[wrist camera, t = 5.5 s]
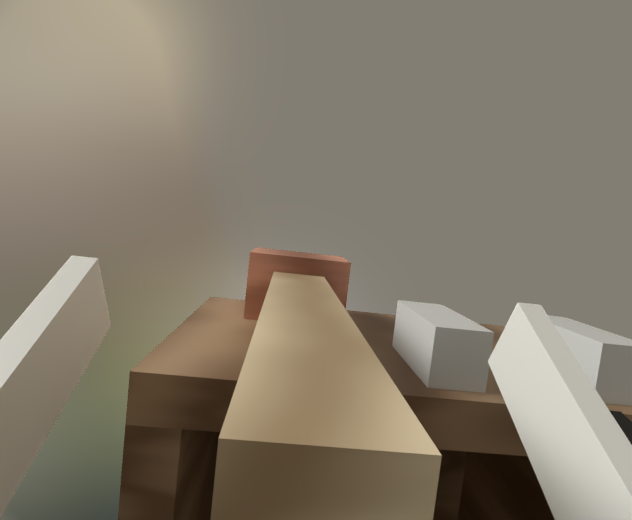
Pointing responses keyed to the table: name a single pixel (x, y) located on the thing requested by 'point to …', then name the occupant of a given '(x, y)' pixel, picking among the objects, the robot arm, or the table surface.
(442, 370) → the twin white cubes
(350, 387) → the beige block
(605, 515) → the robot arm
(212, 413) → the wooden tower
